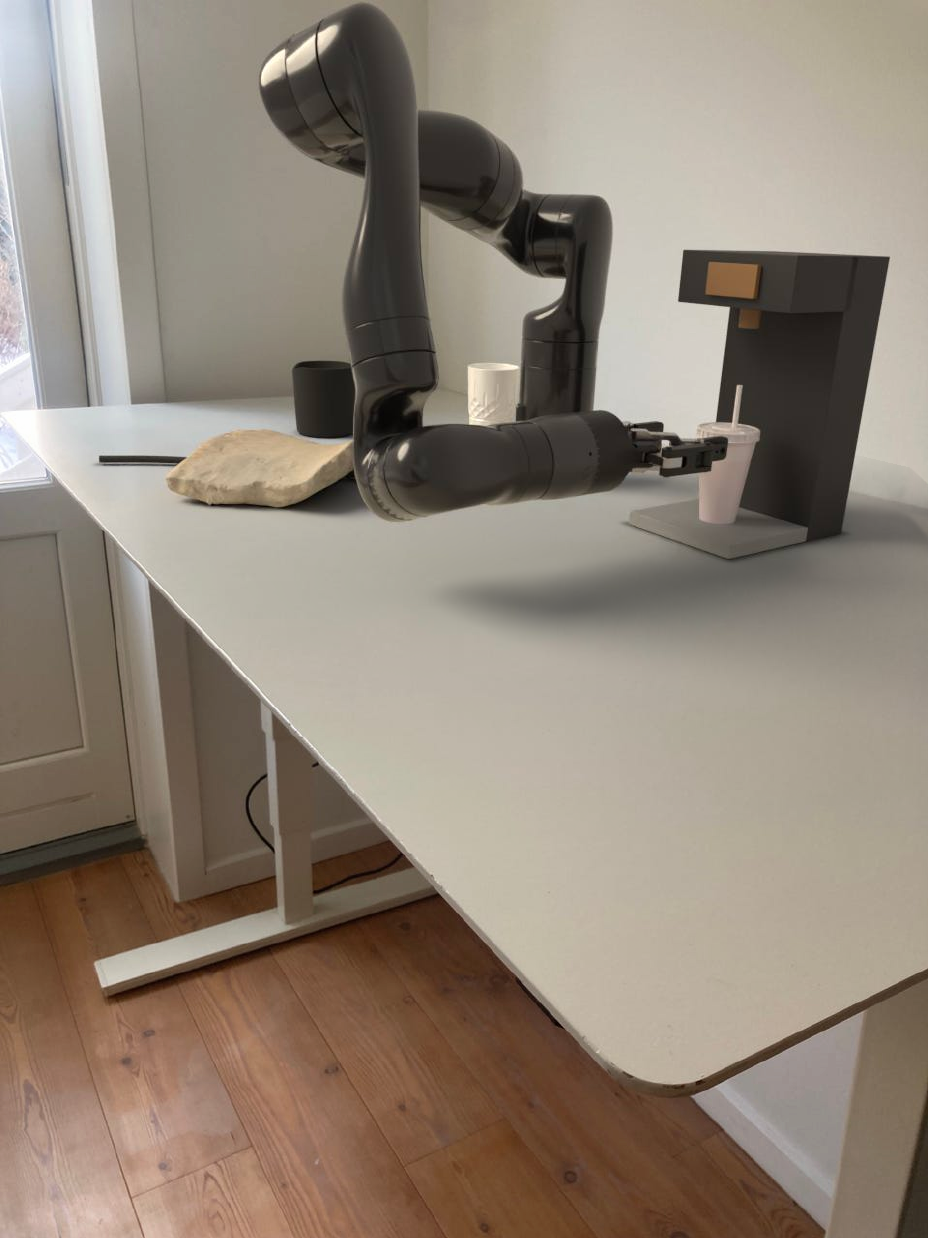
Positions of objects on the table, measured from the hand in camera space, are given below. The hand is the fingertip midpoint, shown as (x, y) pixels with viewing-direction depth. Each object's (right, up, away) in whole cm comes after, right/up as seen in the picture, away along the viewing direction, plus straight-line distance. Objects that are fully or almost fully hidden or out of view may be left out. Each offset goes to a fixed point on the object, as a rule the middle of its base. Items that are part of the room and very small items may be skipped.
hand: (691, 439), depth 99 cm
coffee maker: (+7, -8, +8) cm, 14 cm away
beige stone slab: (-44, -2, +21) cm, 49 cm away
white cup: (-18, +11, +54) cm, 59 cm away
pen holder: (-43, +10, +51) cm, 68 cm away
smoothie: (+4, -8, +6) cm, 11 cm away
